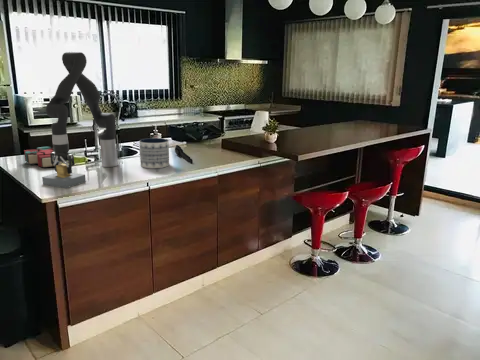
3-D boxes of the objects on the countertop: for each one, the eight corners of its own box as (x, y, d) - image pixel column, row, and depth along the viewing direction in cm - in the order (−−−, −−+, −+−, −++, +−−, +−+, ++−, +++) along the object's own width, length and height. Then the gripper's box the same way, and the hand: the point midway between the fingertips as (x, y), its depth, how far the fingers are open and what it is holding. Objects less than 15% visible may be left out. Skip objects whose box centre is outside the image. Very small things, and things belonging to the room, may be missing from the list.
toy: (73, 167, 249) (63, 156, 272) (72, 153, 246) (61, 143, 269) (31, 172, 235) (23, 160, 258) (29, 157, 232) (22, 146, 255)
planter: (137, 168, 245) (135, 142, 240) (145, 161, 262) (143, 137, 258) (165, 169, 244) (164, 143, 240) (171, 162, 262) (171, 138, 257)
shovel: (194, 164, 260) (194, 153, 258) (189, 164, 259) (189, 153, 257) (178, 153, 291) (178, 143, 288) (173, 154, 289) (173, 144, 287)
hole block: (63, 178, 220) (63, 171, 219) (85, 181, 214) (85, 174, 213) (42, 184, 207) (42, 177, 206) (65, 188, 201) (64, 180, 200)
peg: (64, 181, 213) (63, 163, 211) (71, 182, 212) (69, 164, 209) (58, 183, 209) (56, 165, 207) (64, 184, 208) (62, 166, 205)
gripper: (76, 142, 205) (79, 172, 210) (56, 140, 211) (59, 169, 215) (65, 145, 199) (68, 175, 203) (44, 142, 204) (48, 172, 208)
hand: (63, 172), depth 209 cm, fingers open, 8 cm apart
